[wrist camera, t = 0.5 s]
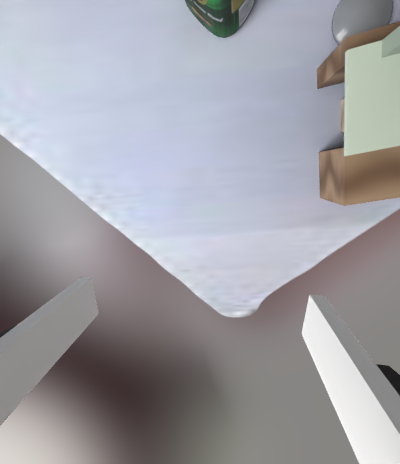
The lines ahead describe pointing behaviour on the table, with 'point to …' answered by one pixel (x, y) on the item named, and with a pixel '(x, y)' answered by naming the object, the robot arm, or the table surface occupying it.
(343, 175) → the brown and beige stand
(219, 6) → the coffee jar
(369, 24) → the grey round disc
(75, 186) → the table surface
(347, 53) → the cover
